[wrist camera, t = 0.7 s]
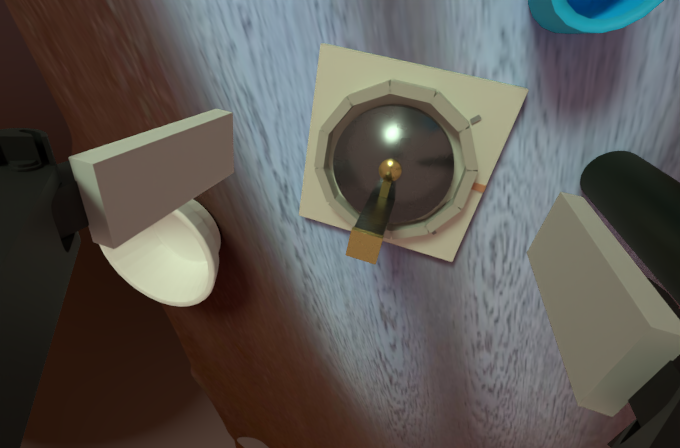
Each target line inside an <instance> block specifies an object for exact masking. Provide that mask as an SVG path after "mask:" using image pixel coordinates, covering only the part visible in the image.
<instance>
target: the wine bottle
mask: <svg viewBox="0 0 680 448" xmlns="http://www.w3.org/2000/svg"><path fill="white" fill-rule="evenodd" d="M580 183H581V188H582V190H583V192H584V193H585V194H586V196H587V197H588V198H589V199H590V200H591V201H592V203H593V204H594V205H595V206H596V207H597V209H598V210H599V211H600V212H601V213H602V214H603V216H604V217H605V218H606V219H607V220H608V221H609V223H610V224H611V225H612V226H613V227H614V229H615V230H616V231H617V232H618V233H619V234H620V236H621V237H622V238H623V239H624V240H625V241H626V243H627V244H628V245H629V246H630V247H631V248H632V250H633V251H634V252H635V253H636V254H637V256H638V257H639V258H640V259H641V260H642V261H643V263H644V264H645V265H646V266H647V267H648V268H649V270H650V271H651V272H652V273H653V274H654V276H655V277H656V278H657V279H658V280H659V281H660V283H661V284H662V285H663V286H664V287H665V288H666V290H667V291H668V292H669V293H670V294H671V296H672V297H673V298H674V299H675V300H676V301H677V303H678V304H679V305H680V183H679V182H678V181H676V180H675V179H673V178H672V177H670V176H669V175H667V174H665V173H664V172H662V171H661V170H659V169H658V168H656V167H655V166H653V165H651V164H650V163H648V162H647V161H645V160H644V159H642V158H640V157H639V156H637V155H636V154H634V153H631V152H626V151H614V152H609V153H606V154H603V155H601V156H599V157H597V158H596V159H594V160H593V161H591V162H590V163H589V164H588V165H587V167H586V168H585V169H584V171H583V173H582V176H581V181H580Z"/></svg>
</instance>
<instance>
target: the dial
mask: <svg viewBox="0 0 680 448" xmlns="http://www.w3.org/2000/svg"><path fill="white" fill-rule="evenodd" d="M333 171H334V176H335V180H336V183H337V185H338V188H339V190H340V191H341V193H342V195H343V196H344V198H345V199H346V200H347V201H348V202H349V203H350V204H351V206H353V207H354V208H355V209H356V210H357V211H359V212H361V214H360V216H359V218H358V220H357V222H356V224H355V226H354V227H352V229H351V234H350V238H349V242H348V247H347V251H346V255H347V256H350V257H353V258H356V259H360V260H363V261H366V262H369V263H372V264H376V261H377V258H378V255H379V251H380V248H381V244H382V241H383V238H384V234H385V231H386V228H387V225H388V222H390V223H400V222H407V221H411V220H415V219H417V218H420V217H422V216H424V215H426V214H427V213H429V212H430V211H432V210H433V209H434V208H435V207H436V206H438V205H439V203H440V202H441V201H442V200H443V199H444V197H445V195H446V194H447V192H448V190H449V188H450V186H451V183H452V179H453V174H454V154H453V148H452V145H451V142H450V140H449V137H448V135H447V134H446V132H445V130H444V129H443V127H442V126H441V125H440V124H439V123H438V122H437V121H436V120H435V119H434V118H433V117H432V116H430V115H429V114H427V113H426V112H424V111H422V110H420V109H418V108H415V107H412V106H409V105H403V104H386V105H381V106H377V107H374V108H371V109H369V110H367V111H365V112H364V113H362V114H360V115H359V116H358V117H356V118H355V119H354V120H353V121H352V122H351V123H350V124H349V125H348V126H347V127H346V128H345V129H344V131H343V132H342V134H341V135H340V137H339V139H338V141H337V144H336V146H335V151H334V156H333Z"/></svg>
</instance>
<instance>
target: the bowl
mask: <svg viewBox="0 0 680 448" xmlns="http://www.w3.org/2000/svg"><path fill="white" fill-rule="evenodd" d="M99 245H100V244H99ZM220 245H221V238H220V233H219V230H218V227H217V225H216V223H215V221H214V219H213V218H212V216H211V215H210V214H209V212H208V211H207V210H206V209H205V208H204V207H203V206H202V205H200V204H199V203H198V202H197V201H195V200H193V199H192V200H190V201H189V202H187V203H186V204H184V205H182V206H181V207H179V208H178V209H176V210H175V211H173V212H172V213H170V214H168V215H167V216H165V217H164V218H162V219H161V220H159V221H158V222H156V223H154V224H153V225H151V226H150V227H148V228H147V229H145V230H144V231H142V232H140V233H139V234H137V235H136V236H134V237H133V238H131V239H130V240H128V241H126V242H125V243H123V244H122V245H120V246H119V247H117V248H116V249H112V248H109V247H106V246H103V245H100V247H101V249H102V251H103V253H104V255H105V256H106V258H107V259H108V261H109V262H110V264H111V265H112V266H113V268H114V269H115V270H116V271H117V272H118V273H119V275H121V276H122V277H123V278H124V279H125V280H126V281H127V282H128V283H129V284H130V285H132V286H133V287H134V288H136V289H137V290H138V291H140V292H141V293H143V294H145V295H146V296H148V297H150V298H152V299H154V300H156V301H158V302H161V303H164V304H168V305H172V306H179V307H181V306H191V305H195V304H198V303H200V302H202V301H203V300H205V299H206V298H207V297H208V296H209V294H210V293H211V292H212V289H213V287H214V284H215V280H216V276H217V272H218V267H219V254H218V252H219V250H220Z"/></svg>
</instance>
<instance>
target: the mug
mask: <svg viewBox="0 0 680 448" xmlns="http://www.w3.org/2000/svg"><path fill="white" fill-rule="evenodd" d="M663 1H664V0H528V5H529V8H530V11H531V13H532V16H533V18H534V19H535V20H536V21H537V22H538V23H539V25H540V26H541V27H543V28H545V29H547V30H549V31H551V32H554V33H565V34H582V33H604V32H608V31H612V30H617V29H621V28H624V27H626V26H628V25H629V24H631V23H633V22H635V21H637V20H639V19H641V18H643V17H645V16H646V15H647V14H648V13H649V12H651V11H652V10H653V9H654V8H655V7H657V6H658V5H659V4H660V3H661V2H663Z"/></svg>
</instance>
